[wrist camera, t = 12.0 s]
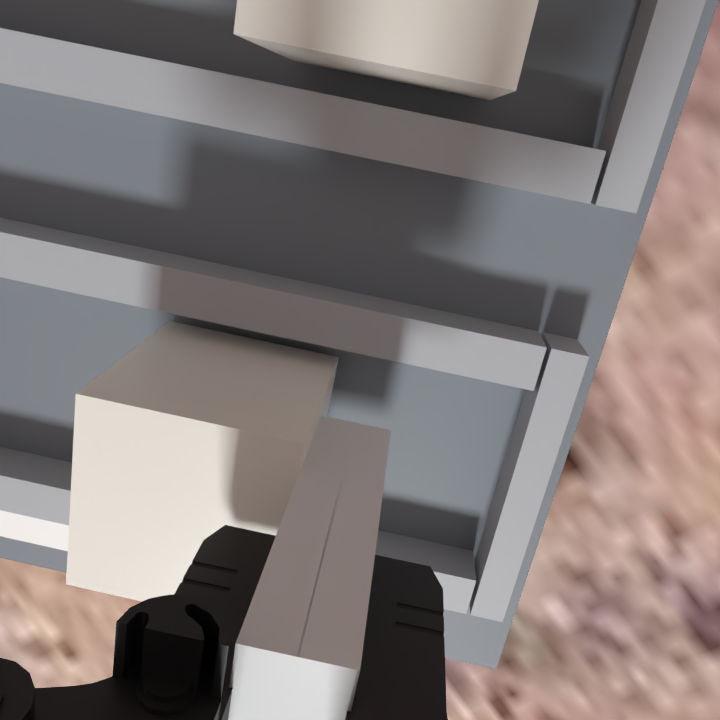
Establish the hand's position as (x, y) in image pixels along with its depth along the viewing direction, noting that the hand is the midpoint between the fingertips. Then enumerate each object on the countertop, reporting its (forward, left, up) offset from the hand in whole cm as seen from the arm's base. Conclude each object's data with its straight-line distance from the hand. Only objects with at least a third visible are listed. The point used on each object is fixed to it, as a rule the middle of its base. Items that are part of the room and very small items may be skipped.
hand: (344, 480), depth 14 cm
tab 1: (0, -3, -2) cm, 3 cm away
